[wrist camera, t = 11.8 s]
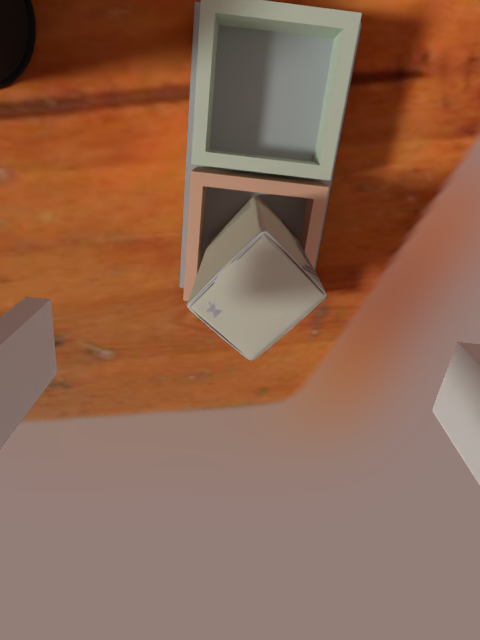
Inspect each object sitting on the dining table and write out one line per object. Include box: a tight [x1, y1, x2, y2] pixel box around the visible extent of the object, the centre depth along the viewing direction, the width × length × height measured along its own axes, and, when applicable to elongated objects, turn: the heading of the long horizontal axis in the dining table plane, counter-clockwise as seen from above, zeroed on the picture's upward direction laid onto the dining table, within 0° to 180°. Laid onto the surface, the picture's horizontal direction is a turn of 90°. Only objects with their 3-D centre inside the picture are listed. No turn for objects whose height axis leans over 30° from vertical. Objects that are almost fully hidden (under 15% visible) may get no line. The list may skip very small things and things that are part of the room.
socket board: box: [180, 0, 362, 301], centre depth 28 cm, size 18×10×4 cm, turn 174°
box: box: [187, 195, 326, 360], centre depth 25 cm, size 5×4×13 cm
